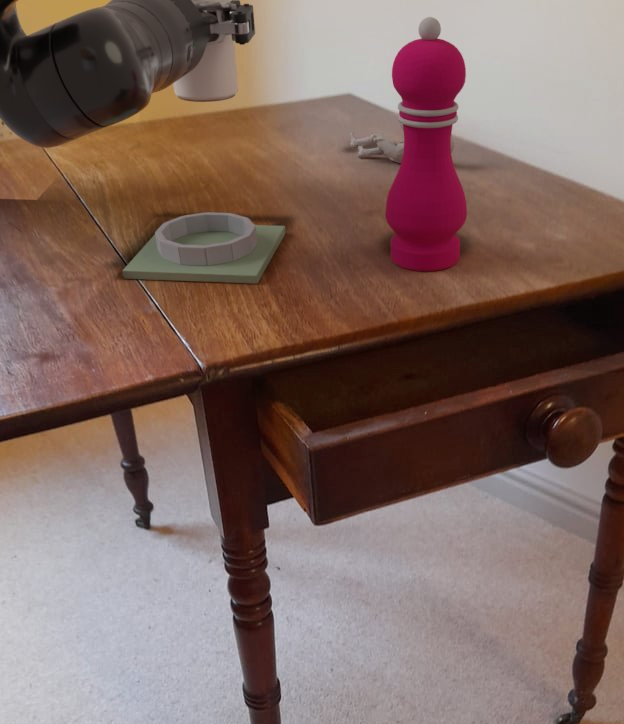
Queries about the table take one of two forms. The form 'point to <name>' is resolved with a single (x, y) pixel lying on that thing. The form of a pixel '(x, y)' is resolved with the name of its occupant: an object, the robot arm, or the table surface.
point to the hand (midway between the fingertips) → (203, 11)
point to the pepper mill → (427, 154)
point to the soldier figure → (381, 146)
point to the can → (211, 72)
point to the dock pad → (210, 273)
